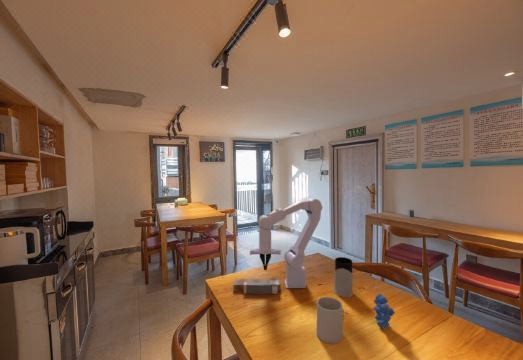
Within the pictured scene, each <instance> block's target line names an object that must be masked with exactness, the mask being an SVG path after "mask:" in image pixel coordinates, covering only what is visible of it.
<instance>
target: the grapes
mask: <svg viewBox="0 0 523 360" xmlns="http://www.w3.org/2000/svg"><path fill="white" fill-rule="evenodd" d="M373 302H374V304H375V306H374V307H373V310H374V312H375V313H376V314H375V316H374V318H375V320H376V321H377V322H376V324H377V325H378V327H380V329H388V328H389V326H390V324H391V323H390V320H392V317H393V316H394V315H395V314H396V312H395V310H394V309H393V308H392V307H390V305H389V304H388V302H389V300H388V298H387V297H386V296H384V295H383V294H382V293H378V294H377V295H376V296H375V297H374V299H373Z"/></svg>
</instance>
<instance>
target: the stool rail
mask: <svg viewBox="0 0 523 360" xmlns="http://www.w3.org/2000/svg"><path fill="white" fill-rule="evenodd" d="M244 282H250V283H270V285H278V292H280V291H281V280H280V278H278V277H277V278H276V277H275V278H272V277H271V278H254V279H253V278H244V279H243V278H239V279H238V278H237V279H236V278H235V279H233V285H232V286H233V287H232V288H233V289H232V290H233V292H244Z"/></svg>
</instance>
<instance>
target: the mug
mask: <svg viewBox="0 0 523 360" xmlns="http://www.w3.org/2000/svg"><path fill="white" fill-rule="evenodd" d="M343 310H344V308H343V303H342V302H341V301H340V300H339V299H337V298H334V297H331V296H330V297H329V296H324V297H320V298H318V299H317V301H316V328H315V329H316V330H315V331H316V336H317V337H318V339H319V340H321V341H322V342H325V343H327V344H333V345H334V344H338V343H340V342H341V341H342V339H343V316H342V312H343ZM343 313H344V312H343Z"/></svg>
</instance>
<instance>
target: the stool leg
mask: <svg viewBox="0 0 523 360" xmlns="http://www.w3.org/2000/svg"><path fill="white" fill-rule="evenodd" d="M278 292H279V291H278V285H270V283H250V282H244V291H243V294H245V295H246V294H250V295H252V294H255V295H277V294H278Z"/></svg>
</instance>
